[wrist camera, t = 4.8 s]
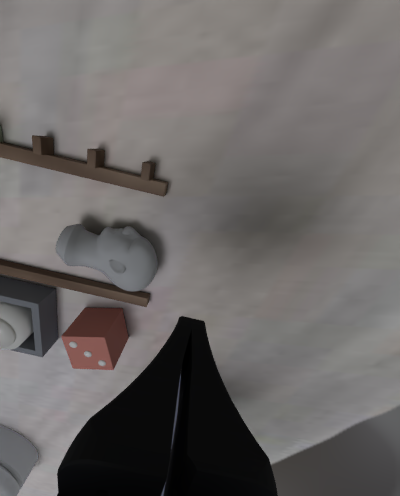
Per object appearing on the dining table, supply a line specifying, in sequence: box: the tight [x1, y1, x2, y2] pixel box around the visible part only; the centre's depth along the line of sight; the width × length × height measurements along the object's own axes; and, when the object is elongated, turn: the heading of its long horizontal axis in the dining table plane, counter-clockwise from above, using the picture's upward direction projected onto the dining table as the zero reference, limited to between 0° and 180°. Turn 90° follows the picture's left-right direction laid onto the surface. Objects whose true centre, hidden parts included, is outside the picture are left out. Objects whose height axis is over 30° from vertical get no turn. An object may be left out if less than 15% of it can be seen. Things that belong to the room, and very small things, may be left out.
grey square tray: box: [0, 276, 58, 357], centre depth 24 cm, size 7×7×2 cm
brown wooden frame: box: [0, 125, 168, 307], centre depth 19 cm, size 13×20×3 cm, turn 77°
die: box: [61, 308, 129, 370], centre depth 23 cm, size 4×4×4 cm
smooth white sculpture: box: [56, 224, 158, 291], centre depth 19 cm, size 4×8×5 cm
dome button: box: [0, 301, 34, 350], centre depth 23 cm, size 5×5×3 cm
